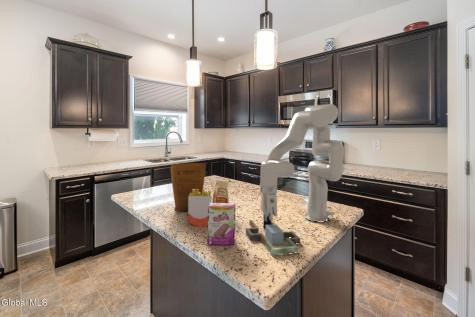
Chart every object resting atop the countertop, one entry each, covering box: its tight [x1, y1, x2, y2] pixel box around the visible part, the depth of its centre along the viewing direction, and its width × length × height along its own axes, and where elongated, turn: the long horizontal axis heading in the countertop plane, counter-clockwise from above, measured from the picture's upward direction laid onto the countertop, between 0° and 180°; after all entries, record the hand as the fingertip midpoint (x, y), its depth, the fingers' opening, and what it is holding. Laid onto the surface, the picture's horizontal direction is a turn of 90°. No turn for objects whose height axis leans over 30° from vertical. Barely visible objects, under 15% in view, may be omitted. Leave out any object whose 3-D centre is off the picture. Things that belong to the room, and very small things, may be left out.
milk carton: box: [212, 179, 230, 203], centre depth 131 cm, size 9×9×20 cm
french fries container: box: [187, 188, 213, 227], centre depth 118 cm, size 5×11×18 cm, turn 91°
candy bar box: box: [206, 202, 237, 246], centre depth 99 cm, size 11×5×16 cm, turn 92°
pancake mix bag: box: [170, 162, 206, 213], centre depth 138 cm, size 7×19×28 cm, turn 96°
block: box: [264, 223, 285, 246], centre depth 103 cm, size 5×9×5 cm, turn 10°
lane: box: [245, 219, 301, 257], centre depth 106 cm, size 19×31×2 cm, turn 13°
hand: (267, 228), depth 110 cm, fingers closed
